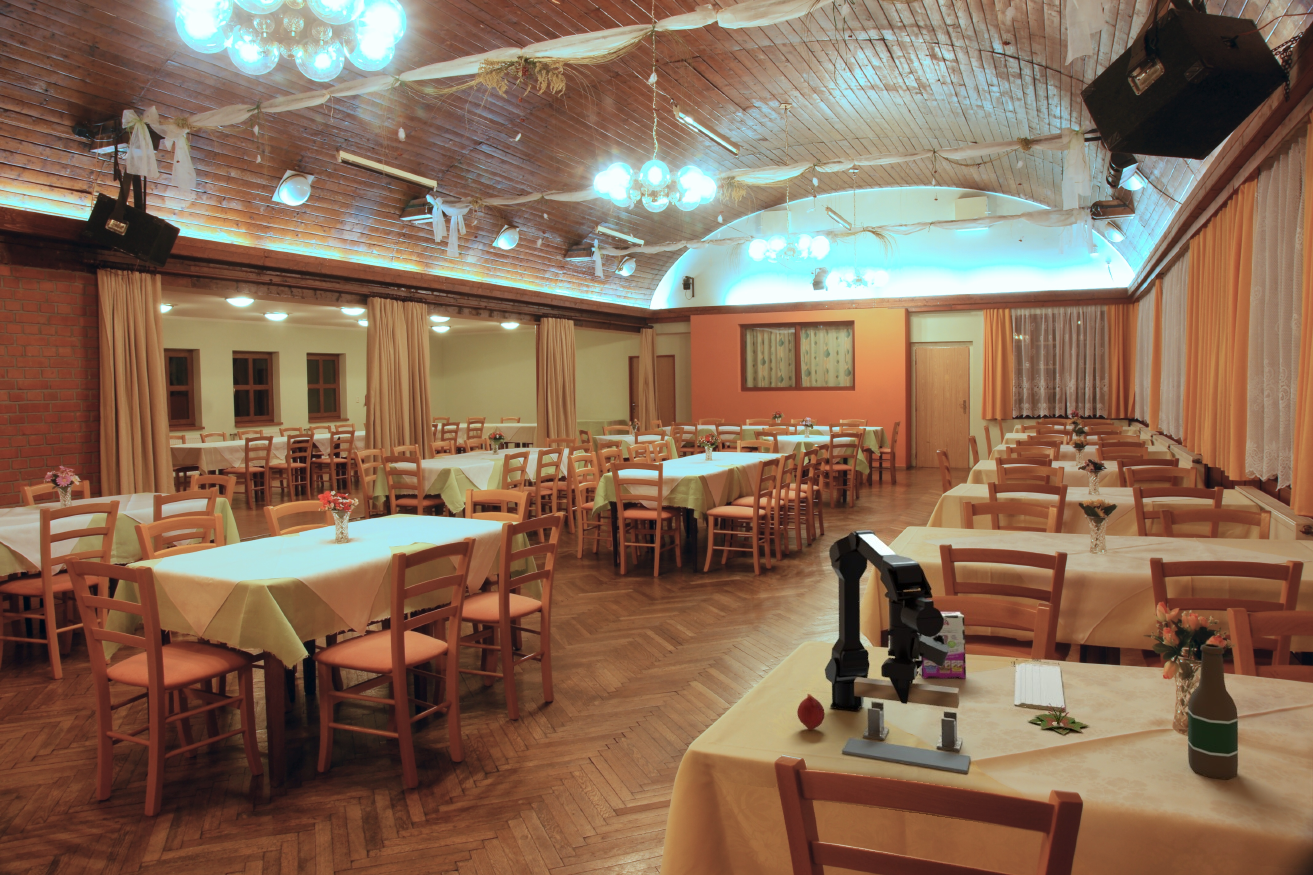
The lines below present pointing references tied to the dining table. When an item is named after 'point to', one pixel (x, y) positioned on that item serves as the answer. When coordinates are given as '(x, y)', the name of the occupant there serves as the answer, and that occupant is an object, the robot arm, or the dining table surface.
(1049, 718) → the lily flower
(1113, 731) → the dining table surface
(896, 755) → the mat
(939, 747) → the post right
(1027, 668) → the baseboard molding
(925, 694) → the rail
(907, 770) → the dining table surface
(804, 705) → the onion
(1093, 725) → the dining table surface
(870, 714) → the post left
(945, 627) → the candy bar box
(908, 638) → the robot arm
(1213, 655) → the beer bottle
